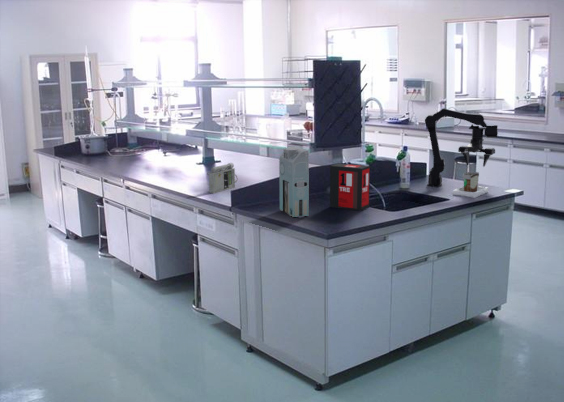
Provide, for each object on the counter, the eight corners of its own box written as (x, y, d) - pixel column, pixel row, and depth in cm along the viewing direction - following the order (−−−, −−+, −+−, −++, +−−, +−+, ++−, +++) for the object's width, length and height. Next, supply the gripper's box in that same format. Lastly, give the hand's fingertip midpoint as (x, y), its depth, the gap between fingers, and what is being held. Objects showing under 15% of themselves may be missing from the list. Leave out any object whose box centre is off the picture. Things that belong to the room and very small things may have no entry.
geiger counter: (214, 167, 335) (241, 161, 355) (204, 166, 338) (232, 160, 359) (215, 193, 338) (242, 186, 358) (205, 192, 341) (232, 184, 362)
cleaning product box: (329, 206, 304) (330, 165, 300) (338, 203, 312) (338, 163, 308) (361, 210, 296) (361, 168, 292) (369, 207, 303) (370, 165, 299)
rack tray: (452, 195, 329) (453, 190, 329) (466, 189, 343) (466, 185, 343) (475, 197, 322) (475, 193, 321) (488, 192, 336) (488, 187, 335)
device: (279, 210, 298) (279, 147, 291) (294, 209, 300) (294, 146, 294) (292, 218, 283) (292, 151, 276) (308, 216, 285) (308, 150, 279)
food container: (467, 189, 340) (468, 171, 338) (478, 190, 336) (479, 172, 334) (457, 193, 331) (458, 174, 328) (469, 194, 327) (470, 175, 325)
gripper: (454, 137, 343) (453, 166, 346) (488, 139, 332) (487, 169, 335) (463, 135, 352) (461, 163, 355) (496, 137, 340) (494, 166, 344)
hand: (475, 165), depth 347 cm, fingers open, 9 cm apart
